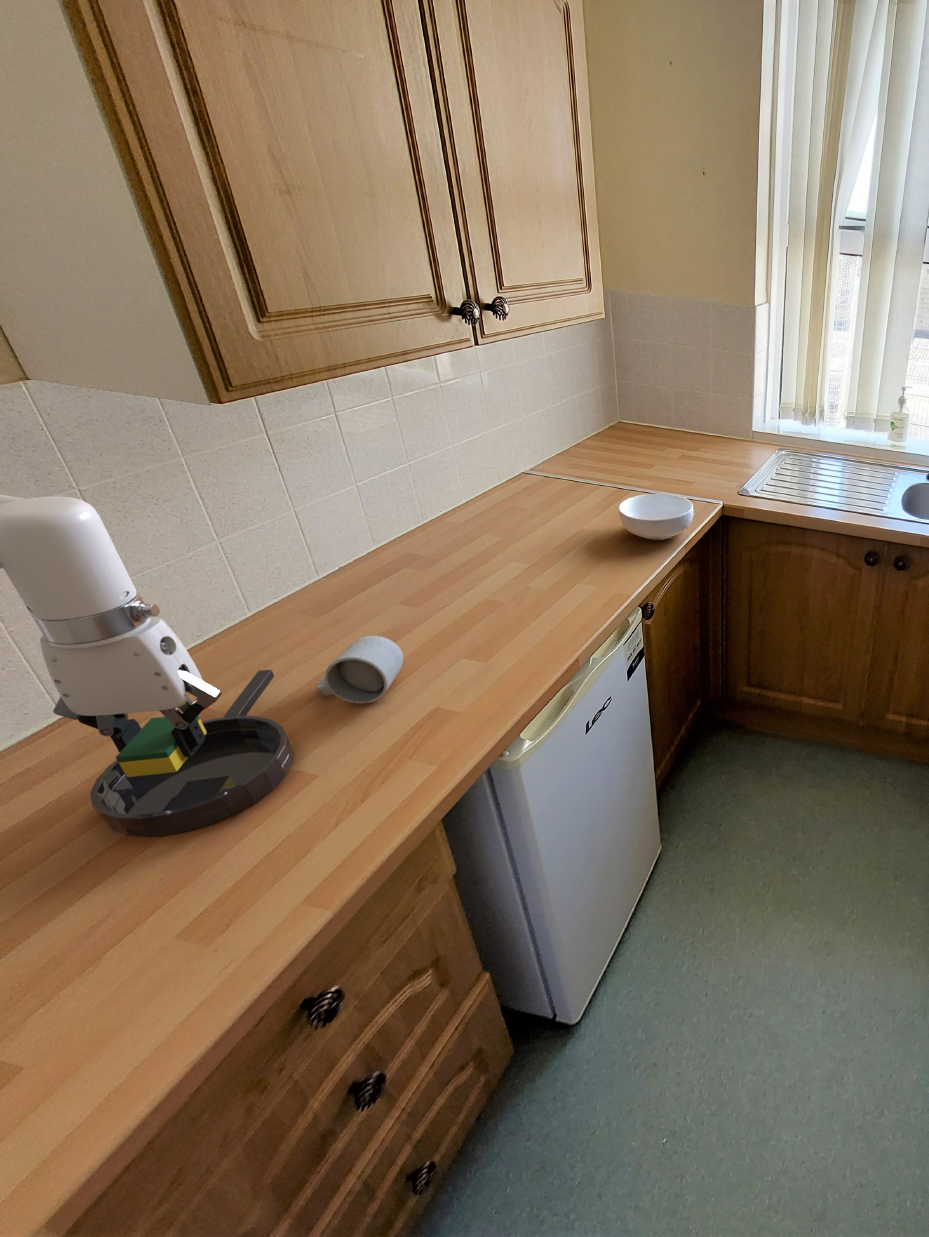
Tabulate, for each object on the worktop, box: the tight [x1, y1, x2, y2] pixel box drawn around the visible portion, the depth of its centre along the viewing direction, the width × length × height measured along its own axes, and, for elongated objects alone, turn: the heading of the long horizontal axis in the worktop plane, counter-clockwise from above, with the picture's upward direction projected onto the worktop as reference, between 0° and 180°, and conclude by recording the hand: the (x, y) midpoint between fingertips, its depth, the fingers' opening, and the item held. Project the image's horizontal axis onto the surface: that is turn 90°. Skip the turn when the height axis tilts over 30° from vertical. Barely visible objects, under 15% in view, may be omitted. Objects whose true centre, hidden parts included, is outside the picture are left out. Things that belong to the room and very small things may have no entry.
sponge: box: [115, 715, 207, 777], centre depth 75 cm, size 4×7×3 cm, turn 17°
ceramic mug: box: [316, 634, 404, 705], centre depth 93 cm, size 11×8×8 cm
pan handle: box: [222, 669, 275, 717], centre depth 88 cm, size 2×11×1 cm, turn 17°
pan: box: [89, 715, 295, 838], centre depth 77 cm, size 17×17×4 cm
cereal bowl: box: [618, 493, 694, 541], centre depth 150 cm, size 17×17×7 cm
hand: (166, 750), depth 75 cm, fingers closed on sponge, 4 cm apart
